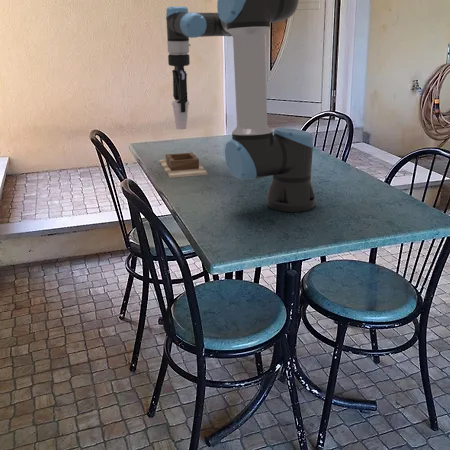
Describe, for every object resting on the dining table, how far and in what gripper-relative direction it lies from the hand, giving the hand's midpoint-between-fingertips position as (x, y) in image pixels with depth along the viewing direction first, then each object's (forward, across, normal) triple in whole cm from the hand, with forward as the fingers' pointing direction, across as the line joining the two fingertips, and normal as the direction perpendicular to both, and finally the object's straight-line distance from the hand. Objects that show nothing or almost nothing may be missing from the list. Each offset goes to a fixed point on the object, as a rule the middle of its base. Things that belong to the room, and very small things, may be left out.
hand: (180, 119), depth 195 cm
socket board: (+19, 0, 0) cm, 19 cm away
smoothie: (+4, 0, 0) cm, 4 cm away
